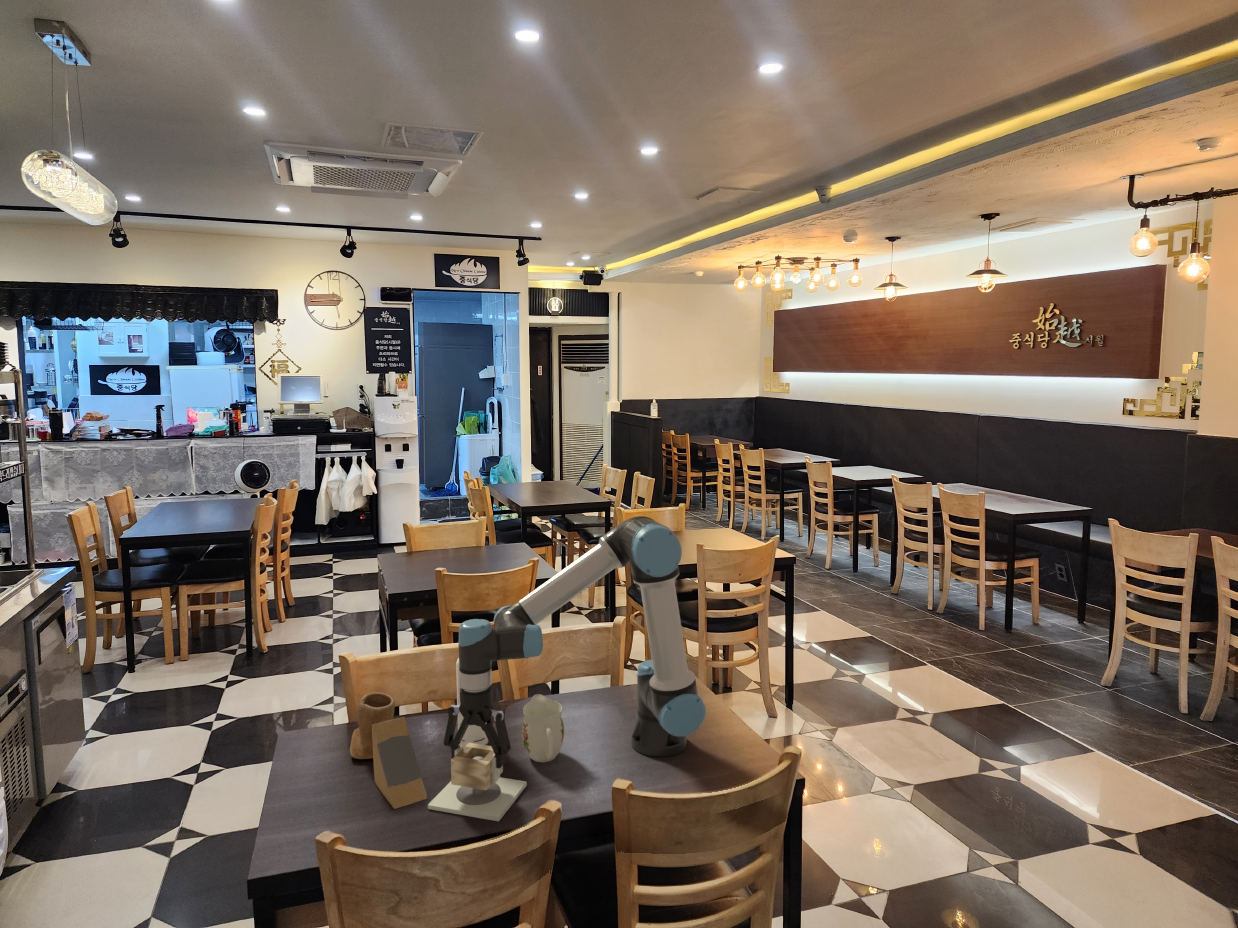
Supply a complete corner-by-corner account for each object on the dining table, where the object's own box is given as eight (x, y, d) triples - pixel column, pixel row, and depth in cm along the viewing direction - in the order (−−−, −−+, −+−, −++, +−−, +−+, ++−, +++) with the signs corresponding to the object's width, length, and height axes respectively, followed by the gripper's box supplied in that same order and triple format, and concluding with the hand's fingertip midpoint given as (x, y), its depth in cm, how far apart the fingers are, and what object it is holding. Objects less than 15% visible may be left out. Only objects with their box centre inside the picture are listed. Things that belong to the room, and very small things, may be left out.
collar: (502, 771, 190) (502, 747, 190) (486, 790, 182) (486, 765, 181) (469, 765, 193) (468, 742, 192) (451, 784, 184) (450, 759, 184)
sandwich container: (393, 810, 183) (391, 748, 181) (373, 781, 195) (370, 724, 194) (429, 798, 188) (427, 739, 186) (407, 771, 200) (404, 715, 198)
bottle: (491, 735, 219) (489, 638, 216) (483, 749, 211) (481, 648, 208) (463, 733, 220) (460, 637, 217) (454, 747, 212) (451, 647, 209)
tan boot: (395, 759, 206) (393, 704, 204) (347, 764, 203) (345, 709, 202) (398, 733, 221) (396, 682, 219) (353, 737, 218) (351, 686, 216)
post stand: (526, 785, 193) (526, 748, 192) (498, 821, 178) (498, 781, 177) (460, 774, 198) (459, 738, 197) (427, 808, 183) (426, 770, 182)
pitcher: (529, 777, 197) (528, 725, 195) (518, 744, 214) (517, 696, 212) (572, 771, 200) (571, 719, 198) (557, 739, 217) (557, 691, 215)
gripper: (525, 685, 185) (526, 775, 188) (442, 674, 191) (444, 762, 194) (511, 698, 178) (513, 791, 181) (426, 686, 184) (428, 777, 187)
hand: (477, 776), depth 187 cm, fingers closed on collar, 9 cm apart
